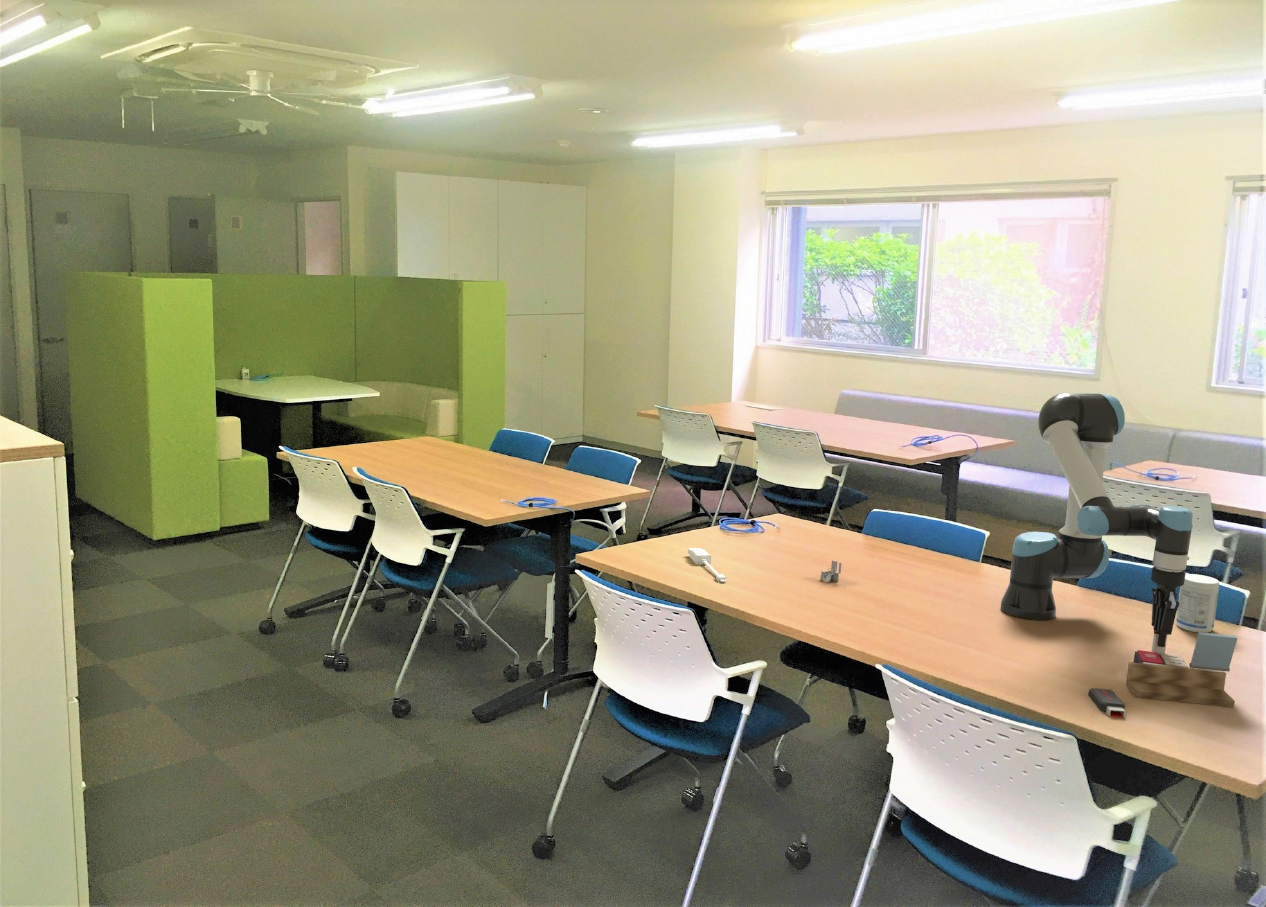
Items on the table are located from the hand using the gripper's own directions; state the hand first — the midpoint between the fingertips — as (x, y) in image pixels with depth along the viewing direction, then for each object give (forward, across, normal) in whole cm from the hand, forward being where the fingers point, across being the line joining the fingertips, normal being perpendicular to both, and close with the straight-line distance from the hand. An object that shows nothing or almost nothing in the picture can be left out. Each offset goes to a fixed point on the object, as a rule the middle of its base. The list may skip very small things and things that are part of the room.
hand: (1157, 657), depth 258 cm
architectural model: (+2, +44, +80) cm, 92 cm away
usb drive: (+2, -34, +21) cm, 40 cm away
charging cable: (+2, +52, +121) cm, 132 cm away
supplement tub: (+2, +34, -20) cm, 39 cm away
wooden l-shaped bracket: (+1, -22, +2) cm, 23 cm away
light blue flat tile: (-9, -20, -5) cm, 22 cm away
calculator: (+2, -8, +1) cm, 9 cm away
